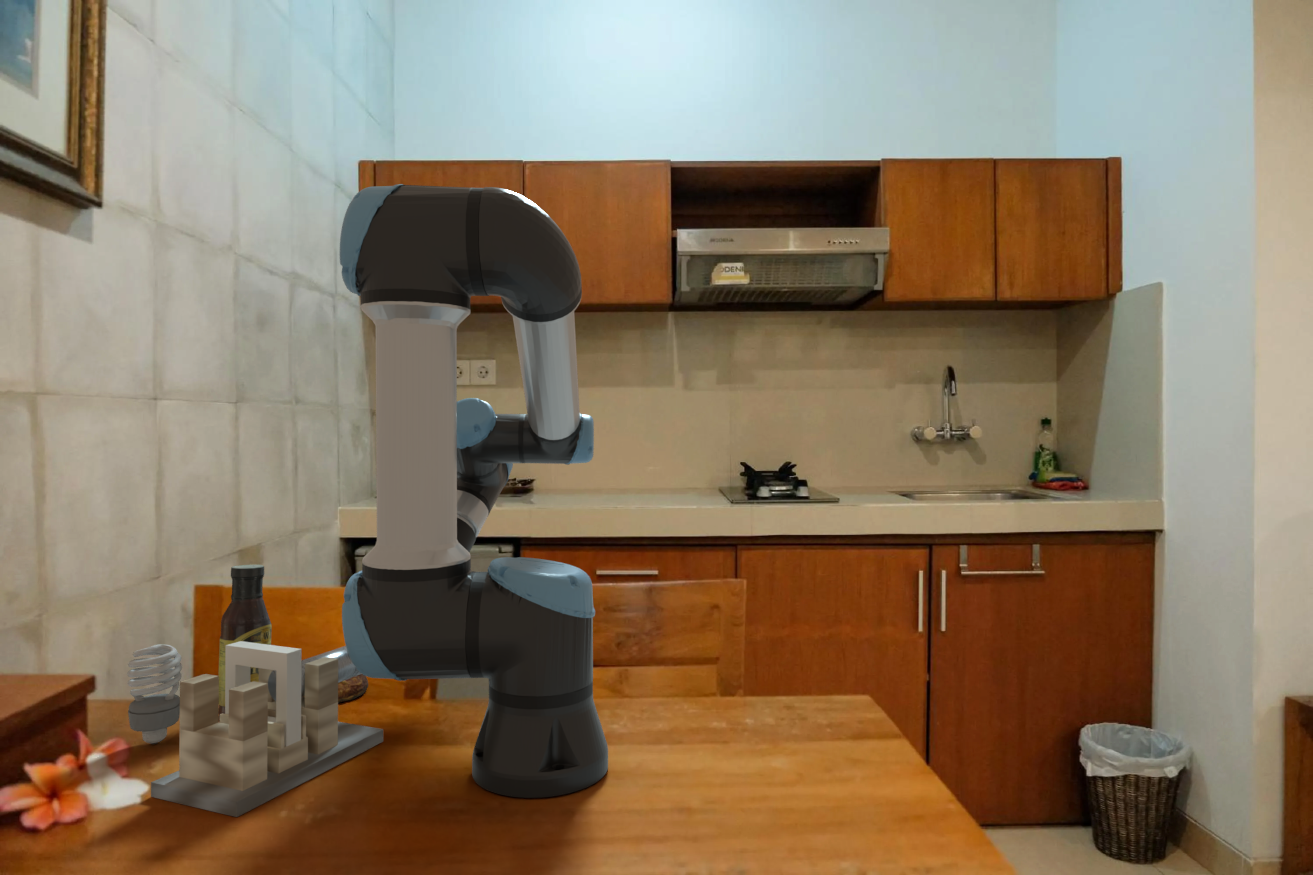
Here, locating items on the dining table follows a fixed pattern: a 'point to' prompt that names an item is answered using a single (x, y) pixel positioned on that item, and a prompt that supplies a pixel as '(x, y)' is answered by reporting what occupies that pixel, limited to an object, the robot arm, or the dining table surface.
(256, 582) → the sauce bottle
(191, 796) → the grey block assembly base
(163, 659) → the light bulb
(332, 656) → the shaft
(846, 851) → the dining table surface
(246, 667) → the grey arch-shaped block
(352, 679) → the bread roll
